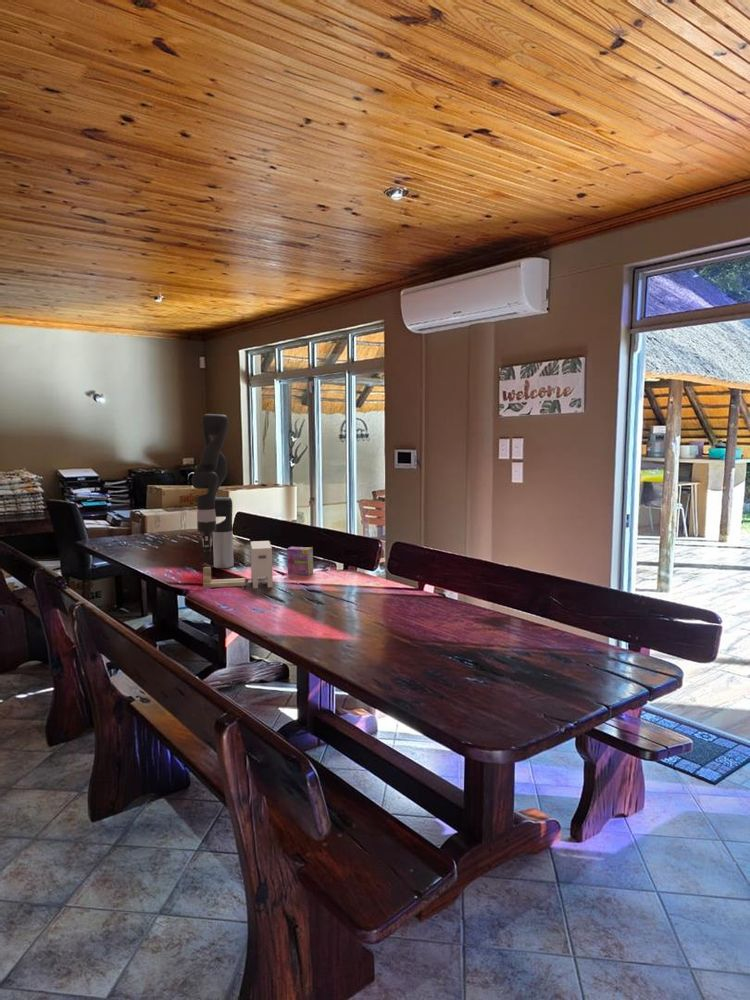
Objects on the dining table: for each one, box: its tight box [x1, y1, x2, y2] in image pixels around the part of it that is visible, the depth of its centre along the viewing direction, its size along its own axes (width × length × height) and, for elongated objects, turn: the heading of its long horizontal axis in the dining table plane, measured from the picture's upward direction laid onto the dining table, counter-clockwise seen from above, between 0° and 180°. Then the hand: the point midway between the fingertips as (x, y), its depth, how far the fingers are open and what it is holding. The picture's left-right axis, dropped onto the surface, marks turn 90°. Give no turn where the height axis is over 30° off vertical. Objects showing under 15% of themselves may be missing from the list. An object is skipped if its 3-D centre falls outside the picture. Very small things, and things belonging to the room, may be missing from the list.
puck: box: [258, 577, 268, 585], centre depth 272 cm, size 5×5×2 cm
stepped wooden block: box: [202, 566, 246, 589], centre depth 269 cm, size 7×17×8 cm, turn 101°
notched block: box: [250, 540, 274, 589], centre depth 271 cm, size 19×8×16 cm, turn 13°
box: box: [286, 546, 314, 576], centre depth 289 cm, size 10×6×12 cm, turn 73°
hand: (207, 558), depth 266 cm, fingers open, 8 cm apart
